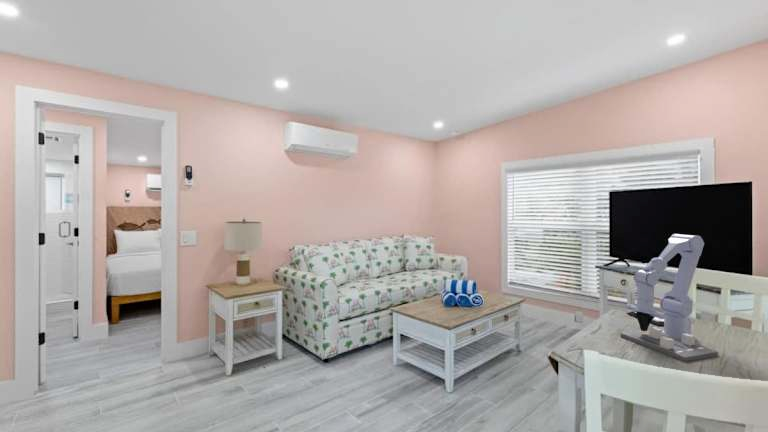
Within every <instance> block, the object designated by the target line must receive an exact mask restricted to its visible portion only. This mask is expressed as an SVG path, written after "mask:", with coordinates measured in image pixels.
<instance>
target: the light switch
mask: <svg viewBox="0 0 768 432" xmlns="http://www.w3.org/2000/svg"><path fill="white" fill-rule="evenodd" d="M636 312H637V311H634V310H632V311H629V312H626V315H627V314H628V316H629V317H632V316H633V317H632V318H634V317H635V318H634V319H637V318H636V316H635V313H636ZM650 325H653V326H655V327H663V328H664V319H659V318H657V317H654V319H653V320H652V321H651V324H650Z"/></svg>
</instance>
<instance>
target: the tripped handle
mask: <svg viewBox="0 0 768 432" xmlns="http://www.w3.org/2000/svg"><path fill="white" fill-rule="evenodd" d="M649 329H650V337H653V338H655V339H660V337H662V330H663V329H662V328H661V329H660V328H658V327H656V326H655V327H654V326H653V327H652V326H651V327H649Z"/></svg>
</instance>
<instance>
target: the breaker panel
mask: <svg viewBox="0 0 768 432" xmlns="http://www.w3.org/2000/svg"><path fill="white" fill-rule="evenodd" d="M620 337H621V338H623V339H625V340H629V341H631V342H634V343H636V344H638V345H641V346H644V347H647V348H649V349H652V350H653V351H654V350H655V351H656V352H660V353H662V354H664V355H667V356H670V357H673V358H675V359H677V360H679V361H682V362H689V361H690V362H691V361H695V360H701V359H706V358H707V359H708V358H711V357H717V356H718V355H719V351H717V350H715V349H712V348H709V347H707V346H706V347H705V346H703V345H700V344H697V343H696V336H695V335H693V334H691V335H690V334H687V333H685V334H682V338H680V339H679V338H676V337H674V336H671V335H668V334H665V333H662V337H660V339H655V338H653V337H650V328H648V330H647V331H642V330H641V329H640V330H635V331H634V330H633V331H626V332H621V333H620Z"/></svg>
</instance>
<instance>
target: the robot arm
mask: <svg viewBox="0 0 768 432" xmlns="http://www.w3.org/2000/svg"><path fill="white" fill-rule="evenodd" d="M667 240H668V244H667V245H666V246H665V248H664V249H663V250H662V251H661V253H660V254H659V256H658V257H653V258H651V259H650V261H649V262H648V263H647V264H646V265H645V266H644V267H643V268H642V269H639V270H637V271H636V272H635V274H634V276H633V280H634V282H635V286H636V305H635V304H630V303H628V304H625V305H626V306H625V307H626V310H631V311H637V312H636V313H635V316H636V318H635V319H636V320H637V321H638V325H639V329H640V330H642V331H647V330H648V329H649V328H650V325H651V324H650V323H651V321H652V320H653V319H654V317H657V318H659V319H664V327H663V329H661V330H662V333H665V334H668V335H671V336H674V337H676V338H679V339H682V334H685V333H687V334H690V335H692V319H691V317H690V315H691V314H692V313H693V303H694V301H693V299H691V297H690V296H689V290H690V287H691V285H692V283H693V282H692V281H693V278H694V276H695V272H696V270H697V266H698V263H699V260H700V257H701V256H702V253H703V248H704V246H705V242H704V240H703V238H702V236H700V235H695V234H694V235H692V234H682V233H681V234H680V233H673V234H672V235H671V236H670V237H669V238H668V239H667ZM677 254H680V256H681V259H680V262H679V266H678V269H677V272H676V275H675V278H674V282H673V284H672V288H671V290H670V291H667V292H664V294H663V297H662V298H661V299H660V301H659V307H660V309H661V310H662V312H663V313H662V312H659V311H657V310H654V300H655V297H654V296H655V286H656V285H657V284H658V282H659V279H660V278H661V274H662V273H664V271H665V270H666V269H667V268H668V262H670V260H671V259H673V258H674V257H675V256H676V255H677Z"/></svg>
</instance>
